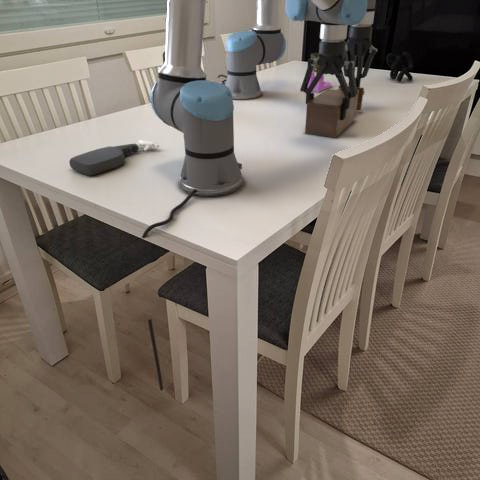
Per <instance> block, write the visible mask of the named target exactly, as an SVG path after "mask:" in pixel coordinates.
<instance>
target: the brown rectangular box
mask: <svg viewBox="0 0 480 480" xmlns="http://www.w3.org/2000/svg"><path fill="white" fill-rule="evenodd" d="M350 92H351V91H350ZM344 97H345V96H344V93H343V91H342V90H337V89H334V88H333V89H332V88H327V89H325V90H323V91H321V92H320V93H319V94H317V95H316V96H314V98H313V99H312V100H310V101H308V102H307V104H306V113H305V115H306V116H305V129H304V130H305V131H304V132H305V133H304V134H308V135H313V136H314V135H316V136H321V137H327V138H332V139H333V138H334V139H335V138H337V137H338V136H339V135H341V134H342V133H343V132H344V131H345V130H346V129H348V127H349V126H350V125H352V124H353V122H355V121H354V120H355V114H356V112H355V105H356V97H357V95H356V96H355V97H352V98H351V101H350V107H349V109H346V117H345V119H344V120H343V121H342V120H340V119H341V109H342V99H343V98H344Z"/></svg>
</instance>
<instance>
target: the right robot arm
mask: <svg viewBox="0 0 480 480" xmlns="http://www.w3.org/2000/svg"><path fill="white" fill-rule="evenodd" d="M376 2H377V0H367V11H366V14H365V15H364V17H363V19H362V20H361V21H360V22H359V23H358V24H356V25H349V26H350V27H349V29H348V36H347V41H346V47H345V56H344V57H345V61H349V55H348V51H349V53H350V62H351V61H354V62H355V66H354V73H356V74H355V79H356V86H357V87H361V83H362V82H361V81H362V79H364V78H366V77H367V75H368V73H369V70H370V68H371V65H372V62H373V60H374V56H375V55H376V54H377V53H378V48H376V47H374V46H373V43H372V34H373V26H372V25H373V24H374V21H375V20H374V18H375V12H376V11H375V10H376ZM255 3H256V4H255V5H256V6H255V23H254V24H253V25H252V26H251V30H242V31H236V32H233V33H231V34H228V36H227V38H226V46H225V49H226V66H227V67H226V70H227V71H226V72H227V75H225V74H218V76H217V79H220V77H221V78H225V79H224V80H222V81H221V84H223V85H225V86H227V87H228V88H229V89H230V91H231V93H232V98H233V100H252V99H256V98H259V97H260V96H261V94H262V89H261V86H260V83H259V79H258V76H257V75H258V74H257V66H260V65H264V64H271V63H274V62H276V61H279V60H280V59H281V58H282V57H283V56H284V54H285V52H286V49H287V39H286V37H285V35H284V33H283V32H282V27H281V26H280V24H279V23H278V21H279V20H278V19H279V18H278V17H279V0H256V1H255ZM367 52H368V53H369V54H368V57H367V59H366V62H365V65H364V58H365V55H366V53H367ZM356 65H357V67H356ZM342 70H343V75H344V77H346V78H348V69H346V66H345V65H344V66H343V67H342ZM347 85H348V86H350V84H349V83H348V84H347Z"/></svg>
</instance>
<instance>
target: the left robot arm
mask: <svg viewBox="0 0 480 480" xmlns="http://www.w3.org/2000/svg"><path fill="white" fill-rule="evenodd" d="M166 9H167V10H166V18H167V31H166V30H165V34H166V35H165V51H166V55H165V64H164V65H163V64H162V66H160V67H159V68H158V71H157V72H158V73H157V81H156V82H155V84H153V86H152V88H151V92H150V105H151V109H152V111H153V112H154V114H155V115H156V117H158V119H159V120H160V121H161V122H163V124H165V125H166V126H169V127H171V128H173V129H175V130H177V131H178V132H180V133H182V134H183V141H184V142H183V143H184V154H185V155H184V158H183V164H182V168H181V171H180V176H179V183H180V184H179V185H180V188H181V189H182V191H184V192H186V193H187V194H188V195H187V196H186V197H185V199H184V200H183V201H181V203H179V204H177V205H176V206H175V207H173V208H172V209H171V210H170V213H169V217H168V218H167V219H165V220H163V221H159V222H156V223H153V224H151V225H149V226H148V227H147V228H146V229H145V230H144V232H143V234H142V236H141V239H145V238H147V236H148V234H149V233H150V231H152V230H153V229H155V228H159V227H162V226H165V225H168V224H170V222H172V221H173V218H174V216H175V215H174V214H175V213H176V212H177V211H178V210H180V209H181V208H183V207H184V206H185V205H186V204H187V203H188V202H189V200H190V199H192V197H193V196H199V197H221V196H224V195H229V194H232V193H234V192H235V191H237V190H239V189H240V188H241V187H242V185H243V174H242V171H241V170H243V163H242V162H241V163H240V162H238V160H237V157H236V154H235V132H234V131H235V130H234V127H235V126H234V110H235V105H234V99H233V98H232V93H231V91H230V89H229V88H228V87H227V86H225V85H224V84H222V82H219V81H211V80H207V74H206V72H205V71H204V70H203V68H202V55H203V54H202V53H203V44H204V43H203V42H204V28H205V14H206V0H167V8H166ZM366 11H367V0H285V13H286V15H287V17H288V18H289V20H291V21H292V22H304V21H311V22H318V23H320V31H319V39H320V41H319V42H318V43H319V44H318V53H319V56H318V59H314V58H311V57H310V58H309V59H308V60H307V68H306V72H305V73H304V77H303V80H302V83H301V86H300V92H301V93H304V94H305V105H307V102H308V101H310V100H312V99H313V98H315V93H314V91H313V89H314V88H315V86H316V85H317V83H318V81H319V80H320V78H321V77H322V75H331V76H335V78H336V79H337V81H338V83H339V85H340V86H341V89H342V91H343V93H344V96H345V97H344V98H343V99H342V109H341V119H340V120H342V121H343V120H344V119H345V117H346V109H349V107H350V101H351V98H352V97H355V96H356V95H357V94H358V92H357V86H356V79H355V78H356V74H355V73H356V72H355V73H354V66H355V62H354V61H351V60H350V61H349V60H348V61H345V57H344V56H345V47H346V43H347V41H345V40H346V39H347V37H348V26H351V25H356V24H358V23H359V22H360V21H361V20H362V19H363V17H364V15H365V14H366ZM316 63H317V64H318V66H319V68H320V69H319V71H316V74H315V78H314V79H313V81H312V83H311V84H310V86H309V87H308V84H309V81H310V78H311V75H312V72H313V73H314V66H315V65H316ZM344 65H345V66H346V69H348V77H347V78H348V83H347V81H346V78H345V76H344V70H343V66H344ZM355 67H356V66H355ZM349 84H350V90H351V92H350V90H349V87H348V85H349ZM307 87H308V88H307ZM147 323H148V329H149V335H150V339H151V344H152V346H151V347H152V351H153V355H154V360H155V367H156V372H157V377H158V378H157V380H158V385H159V390H160V391H163V390H164V385H163V379H162V372H161V365H160V360H159V355H158V350H157V343H156V339H155V332H154V326H153V321H152V318H150V319H148V320H147Z"/></svg>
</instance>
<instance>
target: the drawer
mask: <svg viewBox="0 0 480 480" xmlns="http://www.w3.org/2000/svg"><path fill="white" fill-rule="evenodd" d="M348 87H349V90H350V86H348ZM336 90H342V89H341V86H340V84H339V85H338V88H337V89H336ZM350 91H351V90H350ZM357 92H358V94H357V97H356V105H355V113H356V112H358V111H359V112H360V111H362V106H363V99H364V95H365V87H361V86H360V87H357Z"/></svg>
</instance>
